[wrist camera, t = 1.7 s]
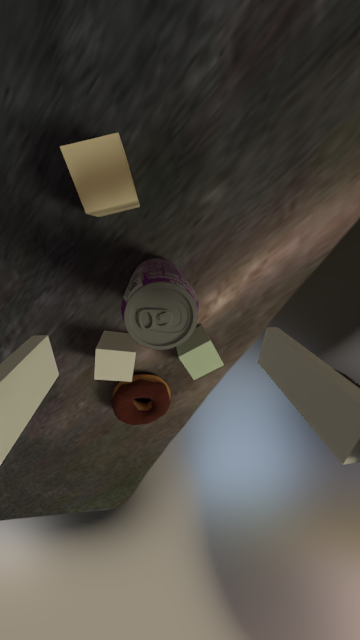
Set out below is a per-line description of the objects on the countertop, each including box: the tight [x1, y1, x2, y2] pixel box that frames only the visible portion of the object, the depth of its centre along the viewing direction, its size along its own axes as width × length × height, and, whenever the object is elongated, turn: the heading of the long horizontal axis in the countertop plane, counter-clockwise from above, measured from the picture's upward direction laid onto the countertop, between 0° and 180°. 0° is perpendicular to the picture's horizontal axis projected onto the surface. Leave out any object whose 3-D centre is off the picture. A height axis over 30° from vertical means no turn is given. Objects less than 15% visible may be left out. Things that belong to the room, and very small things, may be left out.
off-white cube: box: [94, 331, 137, 382], centre depth 28 cm, size 5×5×5 cm
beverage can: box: [121, 258, 198, 350], centre depth 21 cm, size 7×7×12 cm
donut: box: [112, 374, 170, 425], centre depth 33 cm, size 10×10×4 cm
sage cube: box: [176, 325, 224, 380], centre depth 30 cm, size 5×5×5 cm
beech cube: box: [60, 133, 140, 217], centre depth 19 cm, size 5×5×5 cm
